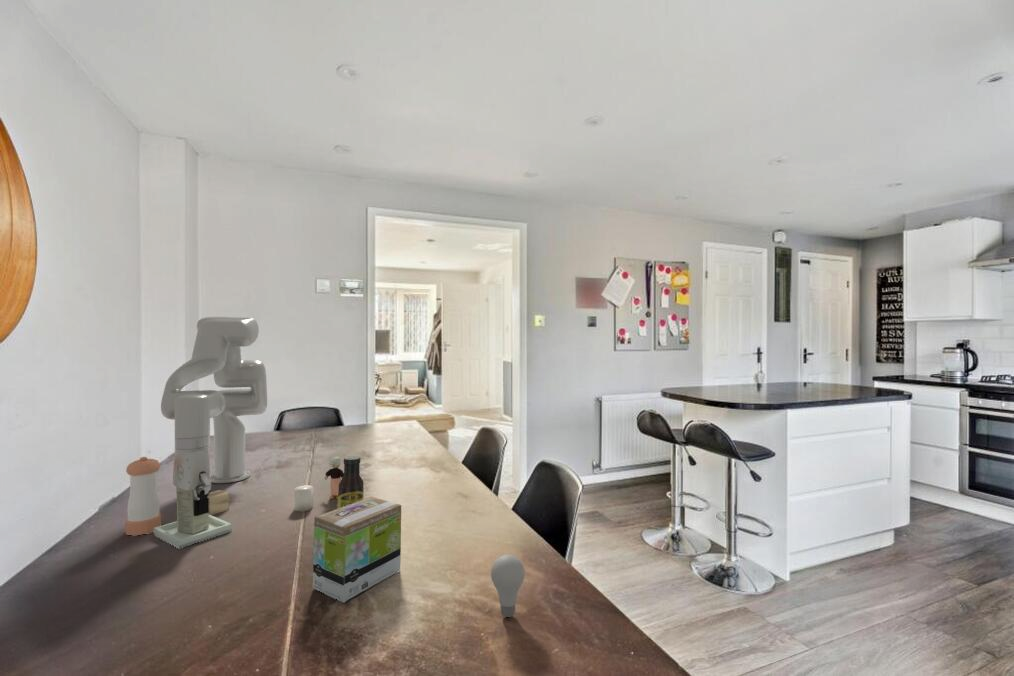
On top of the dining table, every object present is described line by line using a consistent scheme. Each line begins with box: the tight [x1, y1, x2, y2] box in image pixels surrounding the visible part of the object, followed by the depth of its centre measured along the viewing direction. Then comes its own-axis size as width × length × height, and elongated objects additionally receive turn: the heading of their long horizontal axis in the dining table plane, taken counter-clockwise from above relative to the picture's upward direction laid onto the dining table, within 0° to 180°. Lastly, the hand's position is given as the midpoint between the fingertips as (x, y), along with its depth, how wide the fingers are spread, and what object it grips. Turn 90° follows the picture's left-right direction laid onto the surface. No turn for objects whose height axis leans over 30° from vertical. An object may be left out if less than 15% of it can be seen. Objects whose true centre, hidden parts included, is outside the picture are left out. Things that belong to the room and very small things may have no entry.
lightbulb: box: [490, 554, 526, 618], centre depth 84 cm, size 6×6×11 cm
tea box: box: [312, 496, 402, 604], centre depth 97 cm, size 15×10×15 cm, turn 148°
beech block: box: [209, 489, 230, 516], centre depth 135 cm, size 5×5×5 cm
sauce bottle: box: [336, 455, 365, 509], centre depth 118 cm, size 7×6×20 cm
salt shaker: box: [125, 456, 162, 536], centre depth 121 cm, size 7×7×19 cm
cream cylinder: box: [294, 484, 314, 512], centre depth 137 cm, size 5×5×6 cm
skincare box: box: [175, 485, 209, 534], centre depth 119 cm, size 6×4×12 cm
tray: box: [153, 515, 232, 550], centre depth 119 cm, size 14×12×2 cm
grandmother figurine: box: [323, 456, 344, 500], centre depth 146 cm, size 8×4×13 cm, turn 84°
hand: (192, 510), depth 119 cm, fingers open, 8 cm apart
